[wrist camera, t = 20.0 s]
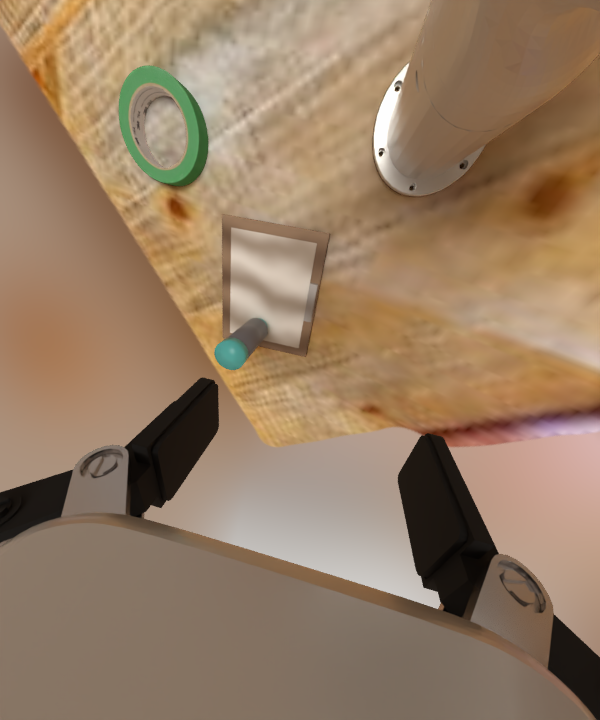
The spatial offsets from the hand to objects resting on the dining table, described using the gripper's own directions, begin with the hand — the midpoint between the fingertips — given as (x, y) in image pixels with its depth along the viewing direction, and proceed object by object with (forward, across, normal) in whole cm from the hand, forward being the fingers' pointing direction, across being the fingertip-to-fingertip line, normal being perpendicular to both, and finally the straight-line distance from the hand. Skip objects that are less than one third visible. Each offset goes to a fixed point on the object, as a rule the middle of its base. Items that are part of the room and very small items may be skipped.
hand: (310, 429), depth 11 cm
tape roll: (+31, +27, -16) cm, 44 cm away
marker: (+29, +12, +8) cm, 32 cm away
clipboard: (+30, +11, +2) cm, 32 cm away
